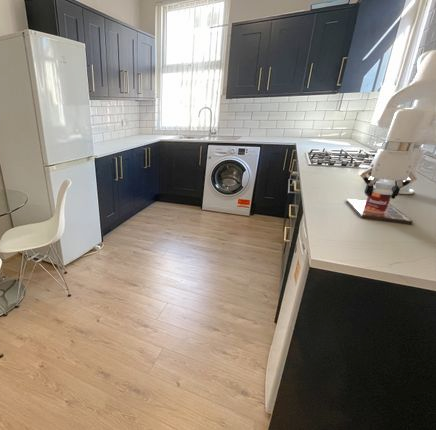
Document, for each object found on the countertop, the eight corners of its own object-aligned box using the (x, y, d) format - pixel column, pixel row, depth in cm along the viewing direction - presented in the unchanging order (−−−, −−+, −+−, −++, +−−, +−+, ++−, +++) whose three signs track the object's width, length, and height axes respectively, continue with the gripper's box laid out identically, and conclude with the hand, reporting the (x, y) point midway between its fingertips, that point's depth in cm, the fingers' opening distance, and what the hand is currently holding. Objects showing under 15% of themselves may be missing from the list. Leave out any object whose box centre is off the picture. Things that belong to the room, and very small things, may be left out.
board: (346, 201, 119) (347, 198, 118) (388, 206, 113) (389, 203, 113) (360, 217, 102) (362, 214, 101) (411, 224, 96) (413, 221, 96)
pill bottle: (362, 211, 104) (373, 183, 100) (363, 207, 109) (372, 179, 104) (385, 215, 100) (396, 186, 96) (384, 210, 105) (395, 182, 101)
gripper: (426, 146, 95) (405, 196, 102) (362, 144, 102) (347, 190, 109) (438, 150, 89) (415, 203, 96) (369, 146, 96) (353, 196, 103)
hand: (379, 196), depth 102 cm, fingers closed on pill bottle, 6 cm apart
